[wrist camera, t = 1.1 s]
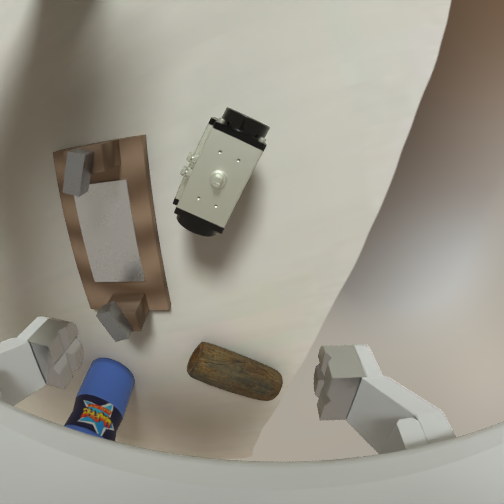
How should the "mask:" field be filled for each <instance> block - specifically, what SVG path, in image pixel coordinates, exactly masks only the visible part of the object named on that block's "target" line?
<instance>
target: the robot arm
mask: <svg viewBox="0 0 504 504" xmlns="http://www.w3.org/2000/svg"><path fill="white" fill-rule="evenodd" d="M77 335H78V330H77V327H76V325H75V324H74V323H72V322H68V321H63V320H59V319H54V318H50V317H45V316H38V317H37V318H36V319H35V320H34V321H33V322H32V323H31V324H30V325H29V326H28V327H27V328H26V329H25V330H24V331H23V332H22V333H21V334H20V335H19V336H18V337H17V338H14V337H13V338H10V339H7V340H5V341H2V342H0V504H504V422H501V423H498V424H496V425H493V426H490V427H488V428H485V429H482V430H479V431H476V432H473V433H470V434H467V435H463V436H460V437H456V436H455V434H454V432H453V430H452V428H451V426H450V424H449V422H448V420H447V418H446V416H445V415H444V413H443V411H442V410H440V409H439V408H437V407H435V406H434V405H432V404H431V403H429V402H427V401H426V400H424V399H423V398H421V397H419V396H418V395H416V394H415V393H413V392H412V391H410V390H408V389H407V388H405V387H404V386H402V385H401V384H399V383H398V382H396V381H394V380H393V379H391V378H390V377H388V376H383V375H382V373H381V370H380V368H379V366H378V364H377V362H376V360H375V358H374V356H373V353H372V351H371V349H370V347H369V346H368V345H367V344H359V345H348V346H347V345H345V346H321V347H320V350H319V355H318V358H319V362H320V363H319V365H317V366H316V368H315V374H314V391H315V395H316V396H317V397H318V398H319V399H318V403H317V408H318V413H319V418H320V420H345V419H347V420H346V421H347V422H348V423H349V424H350V425H351V426H352V427H353V428H354V429H355V430H356V431H357V432H358V433H359V434H360V435H361V436H362V437H363V438H364V439H365V440H366V441H367V442H368V443H369V444H370V445H371V446H372V447H373V448H374V449H375V450H376V451H377V452H378V453H379V454H378V455H372V456H364V457H356V458H348V459H347V458H346V459H336V460H322V461H302V462H301V461H300V462H260V461H238V460H224V459H213V458H203V457H195V456H187V455H180V454H174V453H168V452H162V451H156V450H151V449H146V448H141V447H136V446H132V445H127V444H123V443H119V442H115V441H111V440H107V439H104V438H100V437H97V436H93V435H90V434H86V433H83V432H80V431H77V430H74V429H71V428H68V427H65V426H62V425H59V424H56V423H53V422H51V421H48V420H45V419H43V418H40V417H38V416H35V415H33V414H30V413H28V412H26V411H23V410H21V409H19V408H16V407H14V405H15V404H17V403H19V402H20V401H22V400H23V399H25V398H26V397H28V396H29V395H31V394H33V393H34V392H36V391H37V390H39V389H40V388H42V387H44V386H45V385H46V384H48V385H52V386H55V387H59V388H63V389H65V388H66V386H67V385H68V383H69V382H70V380H71V379H72V377H73V376H72V372H73V371H75V370H77V369H78V368H79V367H80V365H81V364H82V360H83V348H82V344H81V343H80V342H79V340H78V339H77Z"/></svg>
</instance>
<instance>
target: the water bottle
mask: <svg viewBox="0 0 504 504" xmlns="http://www.w3.org/2000/svg"><path fill="white" fill-rule="evenodd" d="M134 381H135V380H134V376H133V374H132V373H131V372H130V370H129V369H128V368H126V367H125V366H124V365H122V364H121V363H119V362H117V361H115V360H112V359H108V358H98V359H96V360H94V361H93V362H92V364H91V366H90V368H89V370H88V373H87V375H86V377H85V379H84V381H83V383H82V385H81V388H80V390H79V392H78V394H77V397H76V401H75V405H74V409H73V412H72V413H71V415H70V417H69V418H68V420H67V422H66V423H65V425H64V426H65V427H68V428H71V429H74V430H77V431H80V432H83V433H86V434H90V435H93V436H97V437H100V438H104V439H107V440H111V441H115V437H116V431H117V429H118V427H119V425H120V423H121V421H122V420H123V417H124V414H125V411H126V407H127V404H128V401H129V398H130V395H131V392H132V389H133V386H134Z"/></svg>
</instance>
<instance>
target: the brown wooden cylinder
mask: <svg viewBox="0 0 504 504" xmlns="http://www.w3.org/2000/svg"><path fill="white" fill-rule="evenodd" d="M187 372H188V374H189V375H190V376H191V377H192V378H194V379H197V380H200V381H202V382H204V383H206V384H209V385H212V386H214V387H217V388H220V389H223V390H226V391H229V392H232V393H235V394H239V395H242V396H246V397H249V398H253V399H257V400H263V401H270V400H272V399H274V398H275V397H276V396H277V395H278V394H279V392H280V390H281V387H282V383H283V382H282V376H281V374H280V373H279V372H278V371H277V370H275V369H273V368H271V367H269V366H267V365H264V364H262V363H260V362H257V361H255V360H252V359H250V358H248V357H245V356H242V355H240V354H237V353H235V352H232V351H230V350H227V349H225V348H222V347H219V346H216V345H213V344H210V343H206V342H201V343H200V344H199V345H198V347H197V348H196V349H195V350H194V352H193V354H192V355H191V357H190V359H189V362H188V365H187Z"/></svg>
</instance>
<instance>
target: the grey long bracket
mask: <svg viewBox="0 0 504 504" xmlns="http://www.w3.org/2000/svg"><path fill="white" fill-rule="evenodd" d="M93 157H94V152H93V151H89V150H85V149H80V148H76V149H73V150H70V151H68V153H67V160H66V167H65V175H64V184H63V193H67V194H70V195H74V199H75V204H76V209H77V214H78V218H79V223H80V227H81V232H82V236H83V240H84V244H85V248H86V252H87V256H88V260H89V263H90V267H91V270H92V274H93V277H94V281H95V282H140V281H145V276H144V272H143V267H142V262H141V257H140V252H139V247H138V242H137V237H136V231H135V226H134V220H133V214H132V208H131V202H130V195H129V189H128V182H127V179H123V180H115V181H108V182H100V183H93V184H89V182H90V176H91V169H92V163H93ZM96 316H97V318H98V319H99V320H100V322H101V323H102V324H103V326H104V327H105V328H106V330H107V331H108V332H109V334H110V335H111V336H112V338H113V339H114V340H115V341H116V342H117V341H120V340H124V339H127V338H129V335H130V333H131V331H132V329H133V327H132V325H131V324H130V323H129V321H128V320H127V318H126V317H125V316H124V314H123V313H122V311H121V310H120V309H119V307H118V306H117V304H116V303H115V301H113V302H111V303H108V304H105V305H103V306H102V307H101V308H100V310H99V312H98V313H97V315H96Z"/></svg>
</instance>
